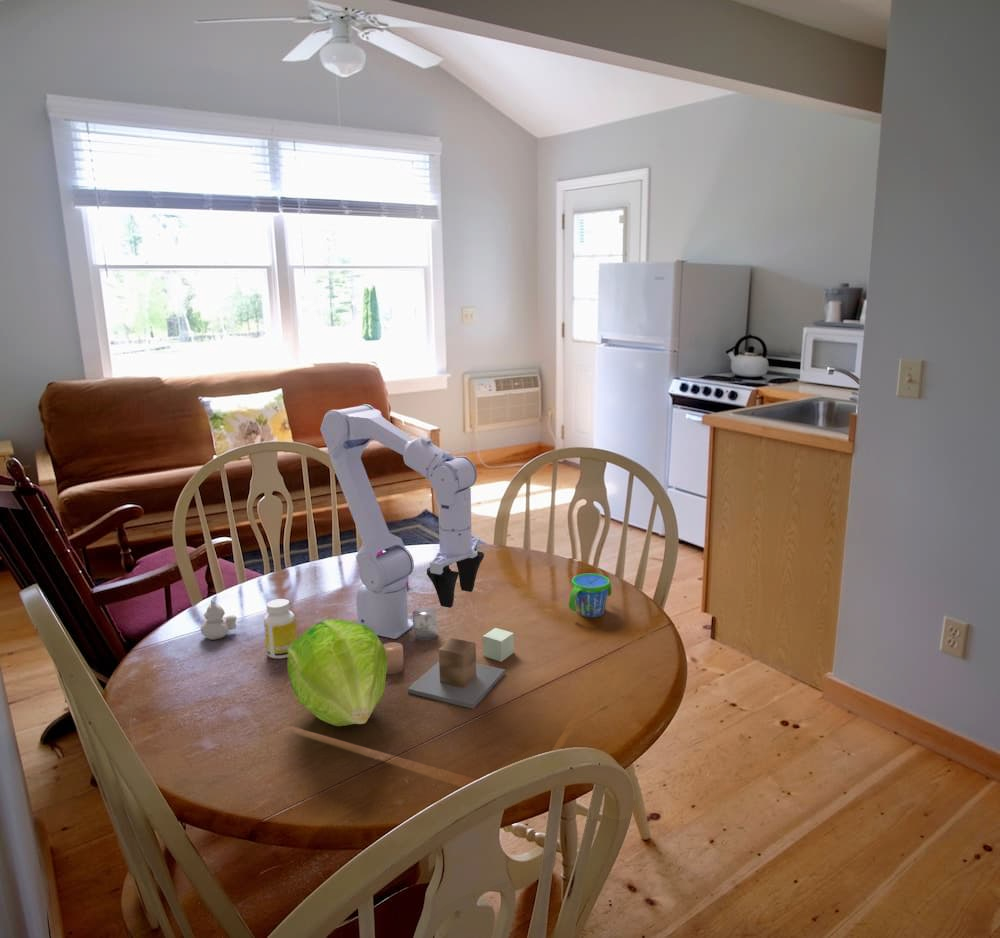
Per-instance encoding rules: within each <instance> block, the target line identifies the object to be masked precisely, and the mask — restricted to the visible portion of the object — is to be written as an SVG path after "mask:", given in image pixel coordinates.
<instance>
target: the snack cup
mask: <svg viewBox="0 0 1000 938" xmlns="http://www.w3.org/2000/svg"><path fill="white" fill-rule="evenodd" d="M570 583H571V585H572V588H571V592H570V596H569V599H568V607H569V609H570V610H571V611H573V612H577V614H579V616H582V617H585V618H597V617H600V616H603V615H604V614H605V610H606V606H607V598H608V597H609V596H611V595H612V584H611V580H610V579H609V578H608V577H607V576H605V575H603V574H598V573H592V572H591V573H587V572H586V573H579V574H577V575H575V576H574V577H572V579H571V580H570Z"/></svg>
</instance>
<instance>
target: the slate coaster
mask: <svg viewBox="0 0 1000 938" xmlns="http://www.w3.org/2000/svg"><path fill="white" fill-rule="evenodd" d="M504 675H506V669H504V668H500V667H495V666H490V665H486V664H481V663H477V662H476V676H475V677H474V678H473V679H472V680H471V681H470V683H469V684H468V685H467V686H466V687H465V688H461V687H457V686H453V685H448V684H444V683H440V669H439V660H438V661H437V662H435V664H433V665H432V666H431V667H430V668H429V669H428V670H427V671H426V672H425V673H424V674H422V675H421V676H420V677H419V678H418V679H416V681H415V682H413V683H412V685H410V686H409V687H408V688H407V692H408V694H411V695H415V696H419V697H422V698H423V697H424V698H427V699H431V700H436V701H439V702H444V703H448V704H452V705H456V706H460V707H465V708H469V709H472V710H474V709H475V708H476V707H477V706H478V705H479V703H481V701H482V700H483V699H484V698H485V697H486V695H487V694H488V693H489V692H490V691H491V690H492V689H493V688H494V686H495V685H496V684H497V683H498V682H500V680H501V679H502V678H503V677H504Z"/></svg>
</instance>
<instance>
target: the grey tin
mask: <svg viewBox="0 0 1000 938" xmlns="http://www.w3.org/2000/svg"><path fill="white" fill-rule="evenodd" d="M412 620H413V627H412V628H413V630H412V631H413V638H414V640H417V641H419V642H420V641H421V642H427V641H431V640H434V639H435V638H436V637H437V635H438V634H437V633H438V632H437V630H438V629H437V611H436V609H434V608H432V607H421V608H417V609H415V610H413V611H412Z"/></svg>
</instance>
